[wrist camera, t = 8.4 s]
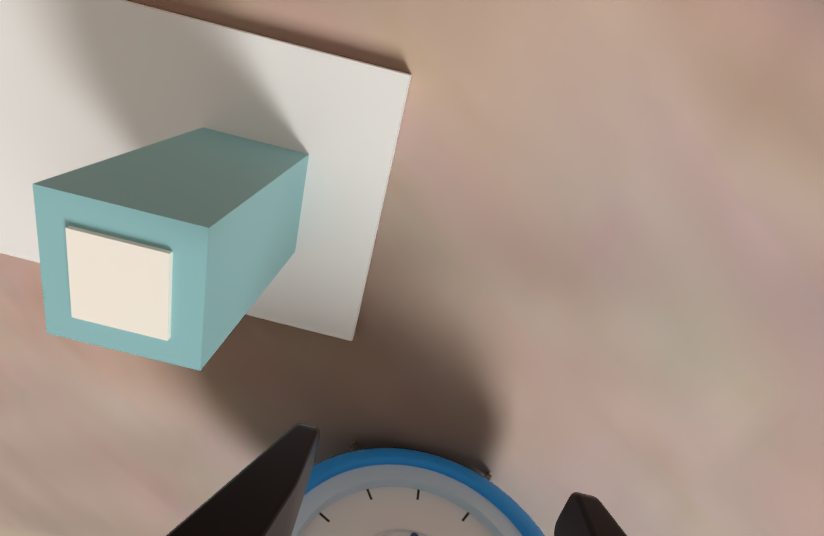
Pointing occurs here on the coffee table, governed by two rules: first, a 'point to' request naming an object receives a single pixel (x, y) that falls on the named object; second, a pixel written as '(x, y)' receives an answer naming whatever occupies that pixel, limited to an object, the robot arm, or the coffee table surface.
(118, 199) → the block
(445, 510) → the alarm clock
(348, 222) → the mat
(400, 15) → the coffee table surface
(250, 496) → the robot arm
